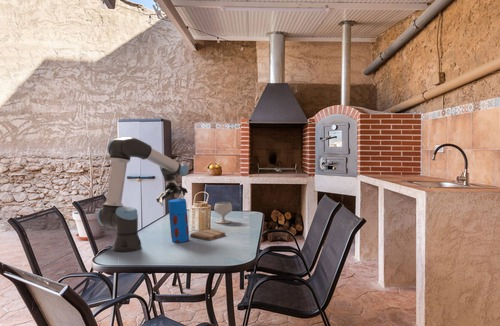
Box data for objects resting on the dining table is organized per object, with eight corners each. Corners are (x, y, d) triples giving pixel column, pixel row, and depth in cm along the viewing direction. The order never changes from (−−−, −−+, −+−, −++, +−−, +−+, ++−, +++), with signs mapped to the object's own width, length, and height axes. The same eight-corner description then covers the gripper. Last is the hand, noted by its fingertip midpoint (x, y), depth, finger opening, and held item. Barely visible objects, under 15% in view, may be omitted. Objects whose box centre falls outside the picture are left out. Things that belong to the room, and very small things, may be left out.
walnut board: (208, 240, 215) (208, 237, 215) (190, 236, 225) (190, 233, 225) (225, 235, 228) (225, 232, 228) (207, 232, 238) (207, 229, 238)
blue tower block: (185, 242, 210) (181, 201, 208) (168, 242, 212) (165, 202, 210) (191, 237, 220) (188, 198, 219) (176, 237, 223) (172, 198, 221)
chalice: (210, 222, 272) (210, 203, 271) (225, 219, 281) (225, 201, 280) (221, 224, 261) (221, 205, 261) (235, 222, 270) (235, 203, 270)
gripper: (190, 186, 241) (193, 199, 221) (155, 197, 238) (155, 212, 218) (187, 176, 238) (189, 189, 218) (151, 188, 235) (150, 202, 215)
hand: (172, 201), depth 218 cm, fingers open, 13 cm apart
